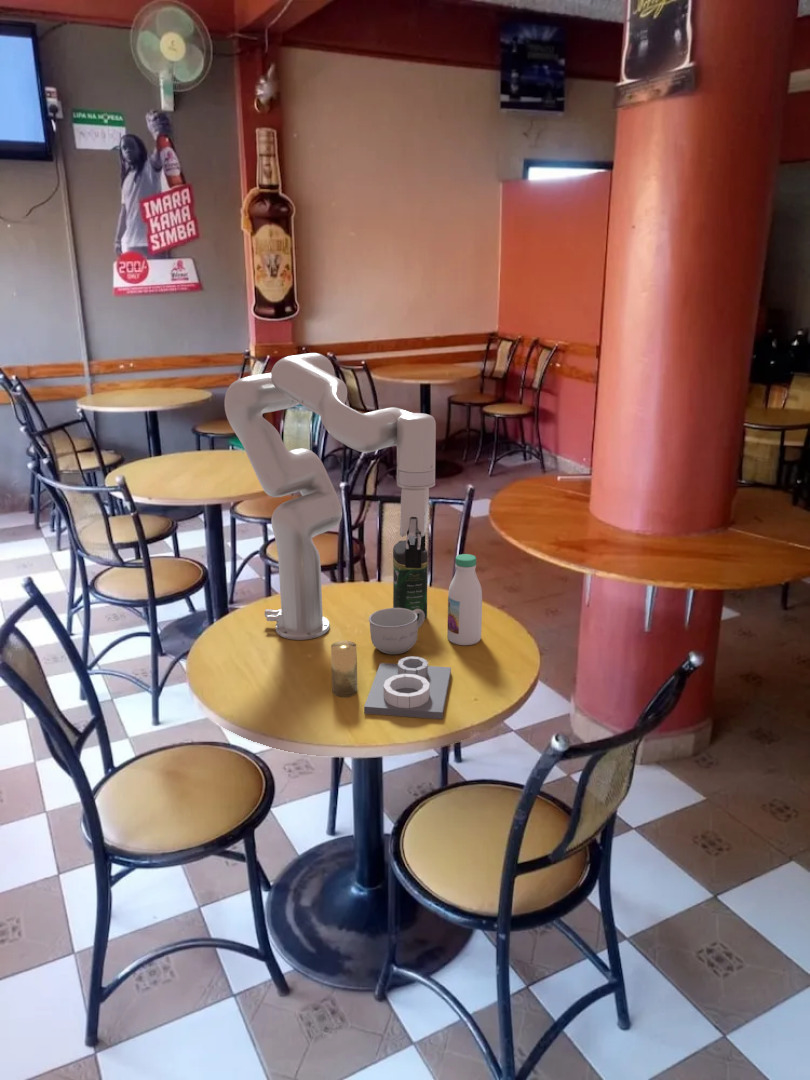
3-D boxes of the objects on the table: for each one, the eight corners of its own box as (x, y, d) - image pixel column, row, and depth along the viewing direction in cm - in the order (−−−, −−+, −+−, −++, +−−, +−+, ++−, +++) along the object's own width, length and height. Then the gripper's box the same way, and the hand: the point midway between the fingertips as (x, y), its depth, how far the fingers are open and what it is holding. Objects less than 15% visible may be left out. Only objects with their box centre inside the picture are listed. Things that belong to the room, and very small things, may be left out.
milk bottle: (481, 632, 191) (483, 551, 184) (480, 647, 184) (483, 563, 177) (448, 630, 192) (449, 550, 185) (446, 645, 184) (447, 562, 178)
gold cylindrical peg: (330, 696, 163) (328, 651, 160) (335, 683, 168) (334, 639, 165) (354, 698, 163) (353, 652, 159) (359, 685, 167) (358, 641, 164)
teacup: (382, 663, 176) (382, 630, 174) (361, 643, 185) (360, 611, 183) (438, 650, 182) (439, 617, 180) (415, 631, 191) (415, 599, 189)
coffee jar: (430, 622, 196) (431, 549, 190) (398, 625, 194) (397, 551, 188) (421, 606, 205) (421, 536, 199) (390, 609, 203) (389, 538, 197)
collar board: (364, 713, 157) (363, 695, 156) (380, 669, 174) (380, 652, 173) (442, 719, 155) (442, 700, 154) (450, 673, 172) (451, 656, 171)
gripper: (401, 466, 169) (401, 544, 175) (392, 488, 153) (392, 573, 159) (437, 466, 169) (436, 545, 174) (432, 489, 152) (431, 575, 158)
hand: (415, 558), depth 166 cm, fingers open, 9 cm apart
